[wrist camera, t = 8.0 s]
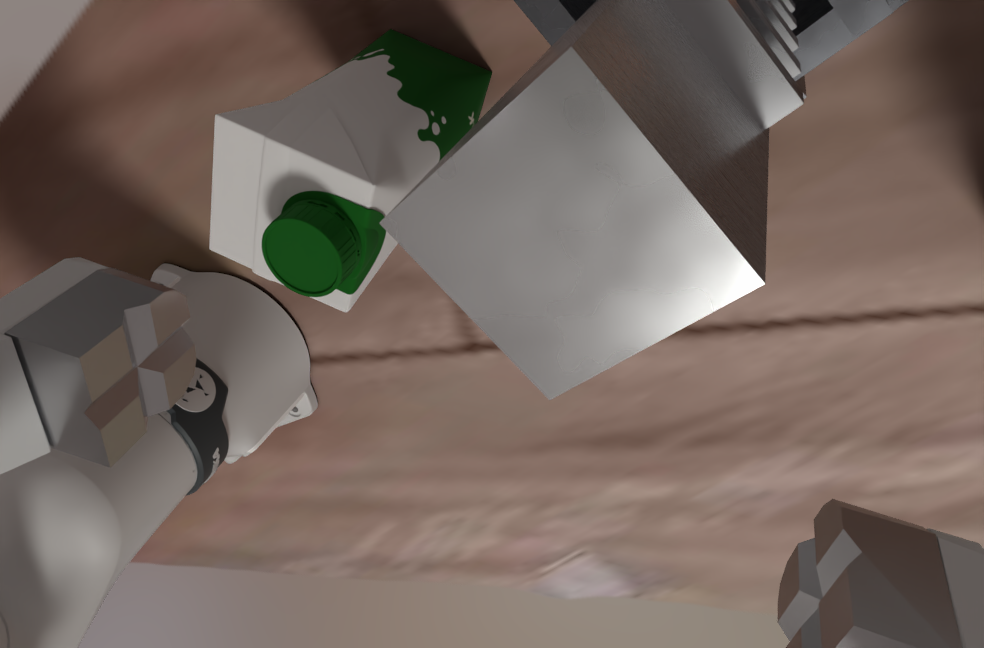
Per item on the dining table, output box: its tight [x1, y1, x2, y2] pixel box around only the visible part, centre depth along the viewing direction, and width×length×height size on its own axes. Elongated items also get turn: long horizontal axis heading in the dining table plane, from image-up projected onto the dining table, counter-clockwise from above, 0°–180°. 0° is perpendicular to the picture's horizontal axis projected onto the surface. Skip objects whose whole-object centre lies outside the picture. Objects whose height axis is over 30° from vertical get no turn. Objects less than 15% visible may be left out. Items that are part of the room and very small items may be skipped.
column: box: [379, 0, 804, 400], centre depth 21 cm, size 6×5×24 cm
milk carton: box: [209, 29, 492, 312], centre depth 40 cm, size 9×9×20 cm
